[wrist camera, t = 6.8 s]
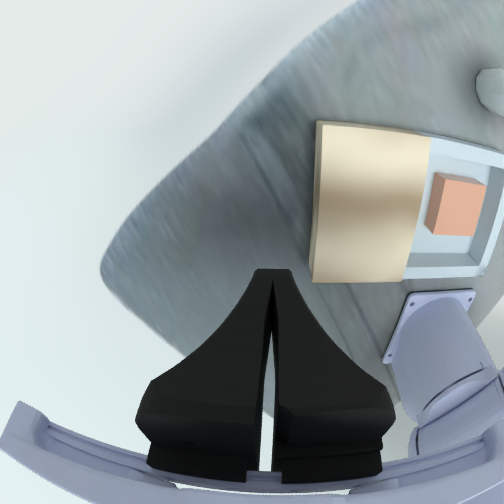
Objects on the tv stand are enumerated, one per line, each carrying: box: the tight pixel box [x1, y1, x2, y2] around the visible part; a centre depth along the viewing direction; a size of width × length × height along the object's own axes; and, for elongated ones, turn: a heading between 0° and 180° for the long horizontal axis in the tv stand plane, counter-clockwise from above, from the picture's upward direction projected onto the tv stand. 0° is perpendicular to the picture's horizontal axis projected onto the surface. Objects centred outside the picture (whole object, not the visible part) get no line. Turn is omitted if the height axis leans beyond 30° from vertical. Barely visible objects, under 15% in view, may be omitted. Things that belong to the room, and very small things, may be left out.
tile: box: [424, 172, 486, 236], centre depth 16 cm, size 4×4×2 cm
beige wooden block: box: [309, 120, 431, 283], centre depth 17 cm, size 10×6×2 cm, turn 2°
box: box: [402, 131, 504, 279], centre depth 16 cm, size 10×8×2 cm
